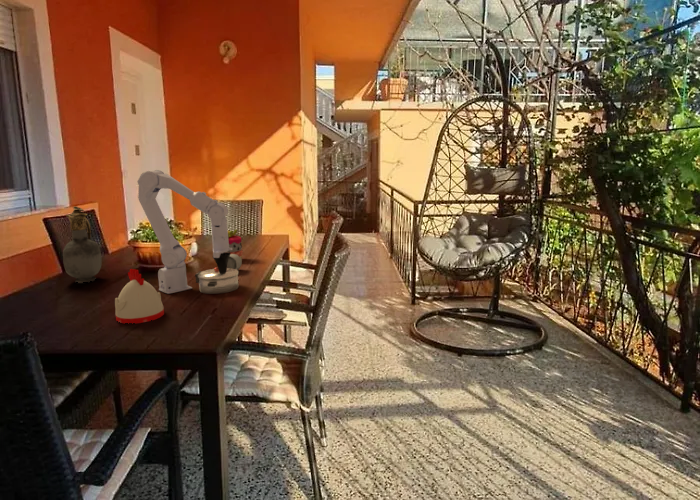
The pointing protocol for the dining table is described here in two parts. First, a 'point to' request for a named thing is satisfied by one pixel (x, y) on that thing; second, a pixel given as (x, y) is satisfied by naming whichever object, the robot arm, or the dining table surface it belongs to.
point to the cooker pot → (218, 285)
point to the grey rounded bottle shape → (81, 249)
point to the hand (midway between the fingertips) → (222, 272)
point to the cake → (235, 243)
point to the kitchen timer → (138, 301)
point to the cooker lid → (216, 274)
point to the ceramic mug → (234, 262)
